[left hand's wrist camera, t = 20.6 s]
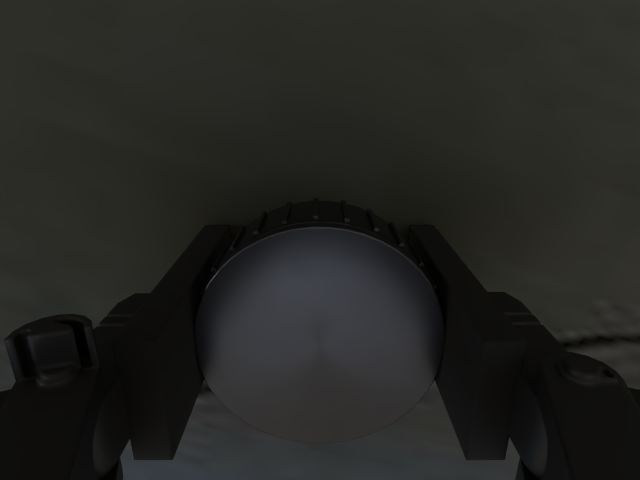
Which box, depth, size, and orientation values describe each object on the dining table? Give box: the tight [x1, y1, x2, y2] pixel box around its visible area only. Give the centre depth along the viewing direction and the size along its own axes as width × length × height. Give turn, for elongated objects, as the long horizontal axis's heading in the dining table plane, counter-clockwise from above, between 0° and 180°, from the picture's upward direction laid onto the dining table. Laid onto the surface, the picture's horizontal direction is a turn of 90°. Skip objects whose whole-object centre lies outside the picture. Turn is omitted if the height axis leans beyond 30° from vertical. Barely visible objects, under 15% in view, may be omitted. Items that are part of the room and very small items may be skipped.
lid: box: [194, 198, 446, 443], centre depth 11 cm, size 6×6×2 cm
